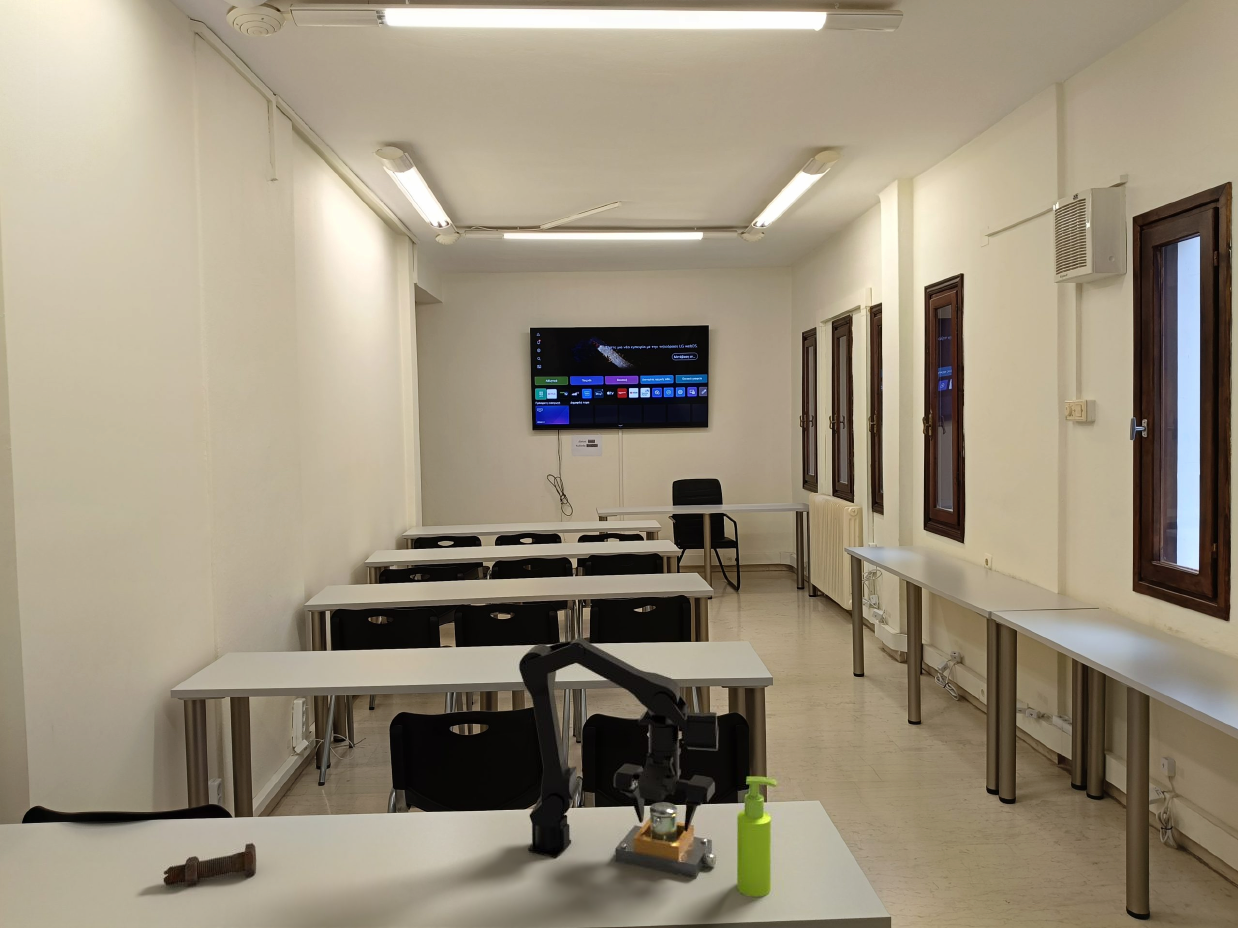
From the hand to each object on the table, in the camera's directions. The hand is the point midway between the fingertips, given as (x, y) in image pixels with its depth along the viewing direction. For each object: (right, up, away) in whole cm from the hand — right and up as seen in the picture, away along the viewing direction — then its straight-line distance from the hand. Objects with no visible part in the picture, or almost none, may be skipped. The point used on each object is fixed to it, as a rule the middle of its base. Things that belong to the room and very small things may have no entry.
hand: (663, 826), depth 162 cm
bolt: (-83, -7, -7) cm, 84 cm away
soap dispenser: (+16, -7, -11) cm, 20 cm away
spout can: (-1, -4, -1) cm, 4 cm away
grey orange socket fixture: (0, -6, 0) cm, 6 cm away
